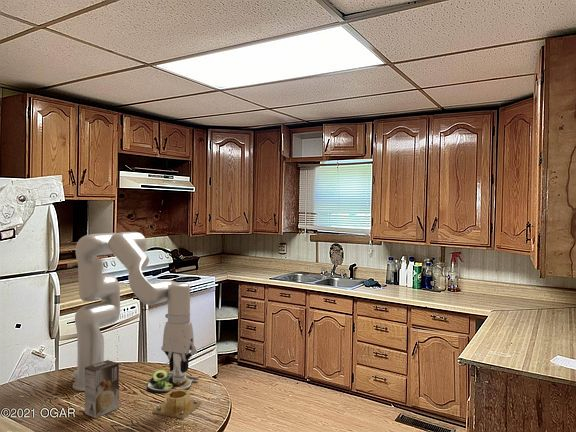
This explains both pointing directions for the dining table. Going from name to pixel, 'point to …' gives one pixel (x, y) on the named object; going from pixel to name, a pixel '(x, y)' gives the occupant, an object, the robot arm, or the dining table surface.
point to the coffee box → (101, 388)
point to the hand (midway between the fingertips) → (178, 370)
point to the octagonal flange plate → (177, 404)
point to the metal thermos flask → (177, 368)
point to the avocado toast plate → (167, 382)
